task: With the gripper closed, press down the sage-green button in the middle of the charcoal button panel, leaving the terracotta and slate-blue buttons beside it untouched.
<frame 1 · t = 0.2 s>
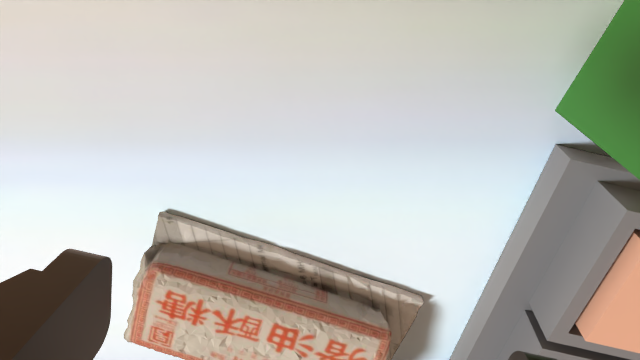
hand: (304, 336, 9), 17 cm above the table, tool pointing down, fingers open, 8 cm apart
packaged product: (276, 300, 32), on the table
button panel: (549, 348, 31), on the table
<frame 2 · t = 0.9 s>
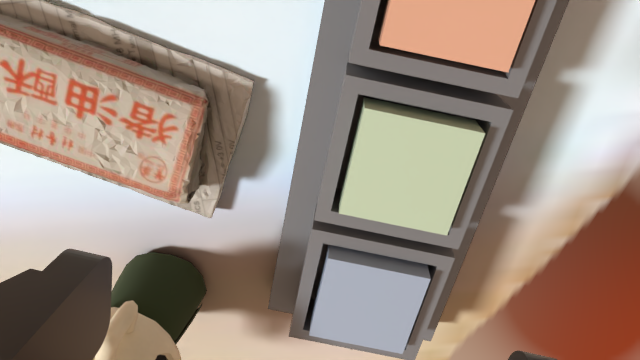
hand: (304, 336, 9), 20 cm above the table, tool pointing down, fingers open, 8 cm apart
packaged product: (106, 98, 30), on the table
slate button: (366, 297, 28), point 5 cm above the table, slide at 0.0 cm
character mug: (168, 278, 35), on the table
button panel: (398, 136, 29), on the table
sage button: (406, 167, 24), point 5 cm above the table, slide at 0.0 cm
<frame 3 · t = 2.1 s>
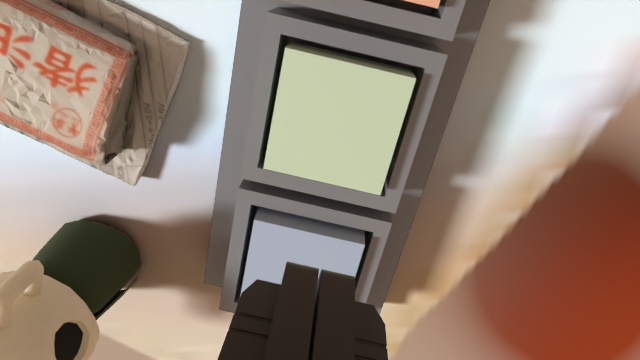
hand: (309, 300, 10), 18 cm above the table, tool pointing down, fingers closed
packaged product: (32, 46, 28), on the table
slate button: (300, 267, 26), point 5 cm above the table, slide at 0.0 cm
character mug: (102, 250, 33), on the table
button panel: (339, 96, 27), on the table
sage button: (336, 119, 22), point 5 cm above the table, slide at 0.0 cm
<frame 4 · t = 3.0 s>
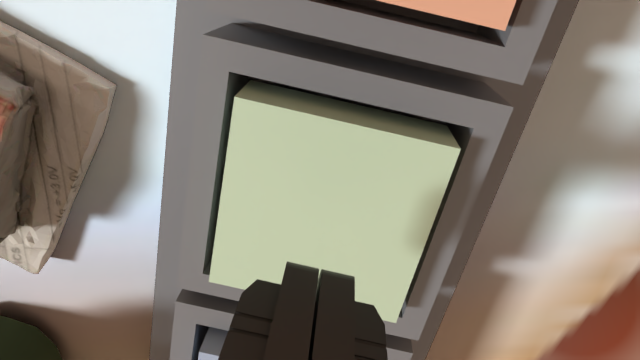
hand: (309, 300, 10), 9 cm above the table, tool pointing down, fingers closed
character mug: (15, 345, 24), on the table
button panel: (332, 149, 18), on the table
sage button: (325, 205, 14), point 5 cm above the table, slide at 0.0 cm
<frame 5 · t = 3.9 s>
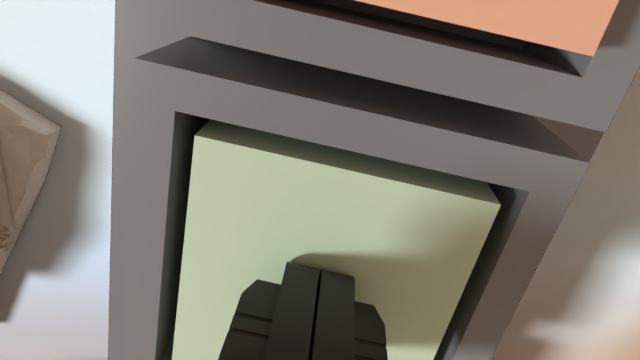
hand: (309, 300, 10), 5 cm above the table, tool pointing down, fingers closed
button panel: (328, 192, 14), on the table
sage button: (319, 266, 11), point 4 cm above the table, slide at 0.8 cm, touching gripper
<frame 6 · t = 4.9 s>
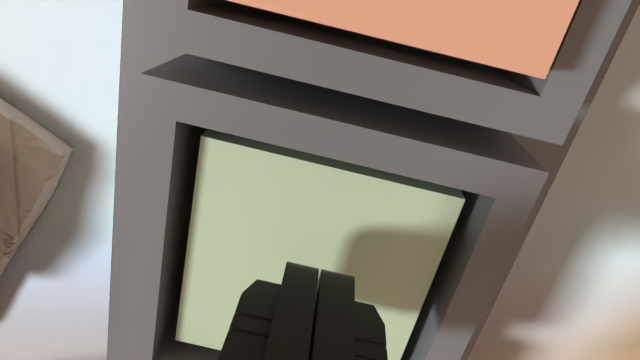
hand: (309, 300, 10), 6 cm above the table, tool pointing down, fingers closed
button panel: (318, 197, 15), on the table
sage button: (309, 254, 12), point 3 cm above the table, slide at 1.3 cm
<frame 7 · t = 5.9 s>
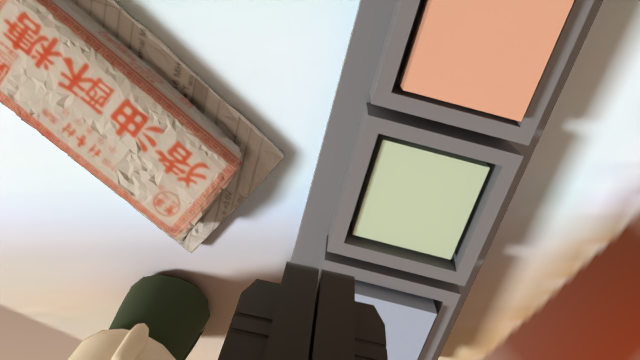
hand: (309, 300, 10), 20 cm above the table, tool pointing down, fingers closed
packaged product: (138, 110, 30), on the table
slate button: (372, 329, 29), point 5 cm above the table, slide at 0.0 cm
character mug: (172, 301, 35), on the table
button panel: (409, 173, 30), on the table
sage button: (416, 195, 27), point 3 cm above the table, slide at 1.3 cm
terracotta button: (480, 41, 22), point 5 cm above the table, slide at 0.0 cm
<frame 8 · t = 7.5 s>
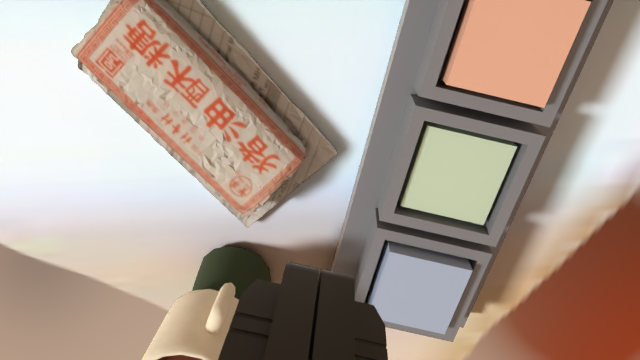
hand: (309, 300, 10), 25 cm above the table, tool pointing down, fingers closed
packaged product: (214, 103, 35), on the table
slate button: (416, 286, 34), point 5 cm above the table, slide at 0.0 cm
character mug: (237, 269, 41), on the table
button panel: (444, 153, 35), on the table
sage button: (453, 171, 31), point 3 cm above the table, slide at 1.3 cm
terracotta button: (509, 42, 27), point 5 cm above the table, slide at 0.0 cm
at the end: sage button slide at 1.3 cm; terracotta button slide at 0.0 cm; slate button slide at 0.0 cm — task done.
